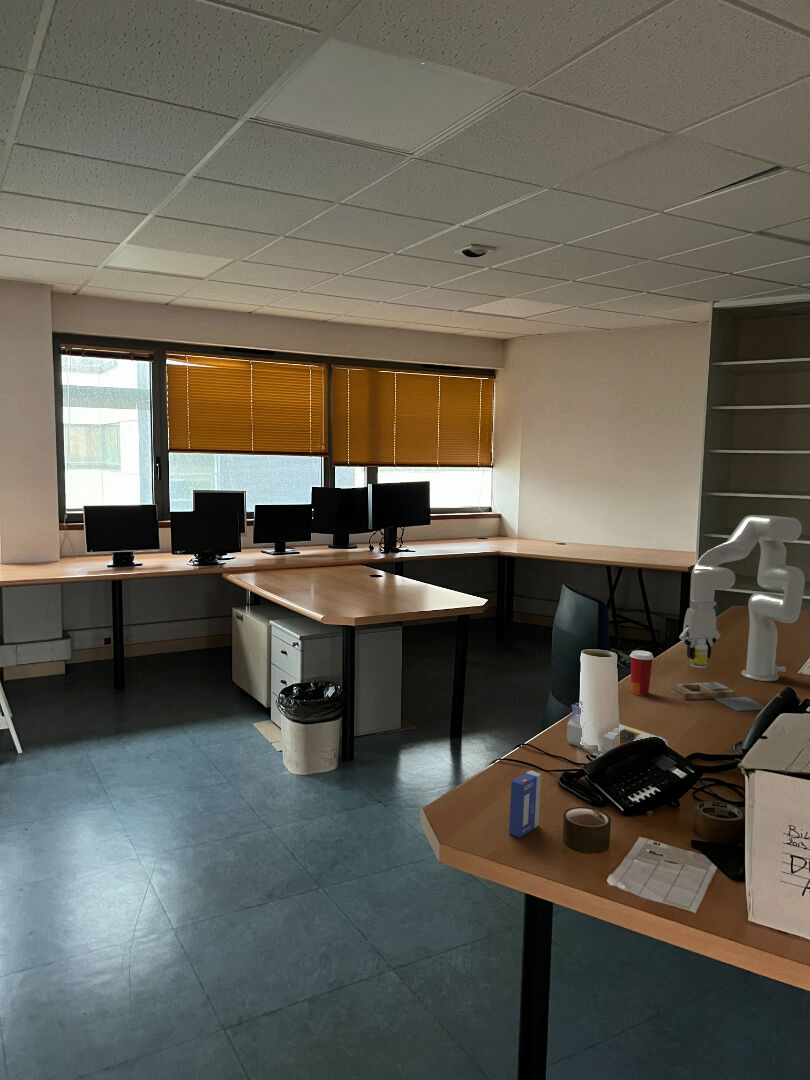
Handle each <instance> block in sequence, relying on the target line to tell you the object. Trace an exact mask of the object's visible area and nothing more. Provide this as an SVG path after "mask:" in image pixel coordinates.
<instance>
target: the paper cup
mask: <svg viewBox="0 0 810 1080" xmlns="http://www.w3.org/2000/svg"><path fill="white" fill-rule="evenodd" d="M629 657H630V692H631V694H632V695H636V696H648V695H649V690H650V684H651V683H650V682H651V675H652V674H651V673H652V666H653V660H654V655H653V653H652V652H650V651H646V650H633V651H632V652H631V653H630V654H629Z"/></svg>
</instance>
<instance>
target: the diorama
mask: <svg viewBox="0 0 810 1080" xmlns="http://www.w3.org/2000/svg"><path fill="white" fill-rule="evenodd" d="M582 701H583V700H579V701H578V702H575V704H571V709H572V711H570V713H569V714H570V715H569V720H568V722H567V723H566V724H567V725H566V726H567V727H566V739H567V741H568V744H571V745H574V746H577V747H579V748H582V749H584V746H585V745H584V744H583V745H581V744H580V742H581V737H582V738H583V734H582V733H583V732H582V728H581V725H580V716H581V715H580V714H581V708H580V706H582V705H583V702H582ZM580 704H581V705H580ZM582 707H583V706H582ZM618 724H619V729H618V728H615V729H613V732H608V733H607V734H605V735H604V736H603V742H604V751H607V750H609V749H611V748H613V747H614V738H615V737H616V736H619V733H620V743H621V744H623V743H626V742H629V741H636V740H640V739H645V738H649V737H658V738H660V739H662V740H663V741H664V742H665V744H666V745H667V746H668V747H669V741H668V739H666V738H663V737H661V736H657V735H654V734H651V733H648V732H646V731H642V730H639V729H637V728H634V727H630V726H627V725H624V724H621V723H618ZM614 748H615V747H614ZM614 748H613V749H614ZM597 752H598V753H597V754H599V755H601V754H602V753H604V752H601V751H598V750H597Z"/></svg>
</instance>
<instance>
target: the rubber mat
mask: <svg viewBox="0 0 810 1080" xmlns="http://www.w3.org/2000/svg"><path fill="white" fill-rule="evenodd" d="M713 699H714V700H715V701H717V702H718V703H721V704H722V705H724V706H726V707H728V708H730V709H732V710H734V711H736V712H746V711H748V712H749V711H763V710H762V709H763V708H764V707H765V706H766V705H764V704H761V703H760V702H758V701H755V700H753V699H752V698H749V697H748V696H735V697H729V698H713Z"/></svg>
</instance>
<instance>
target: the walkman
mask: <svg viewBox="0 0 810 1080" xmlns="http://www.w3.org/2000/svg"><path fill="white" fill-rule="evenodd" d="M510 782H511V784H510V786H511V787H510V802H509V804H510V805H509V822H508V823H509V828H508V834H509V835H511V836H514V837H517V838H519V839H520V838H522V837H523V836H526V834H528V833H529V832H531V831H532V830H534V829H535V828H537V827H539V822H540V821H539V819H540V802H541V801H540V800H541V782H542V774H541V773H539V772H536V771H534V770H528V771H527V772H525V773H523V774H522V775H520V776H518V777H516V778H514V779H513V780H511V781H510Z"/></svg>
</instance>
